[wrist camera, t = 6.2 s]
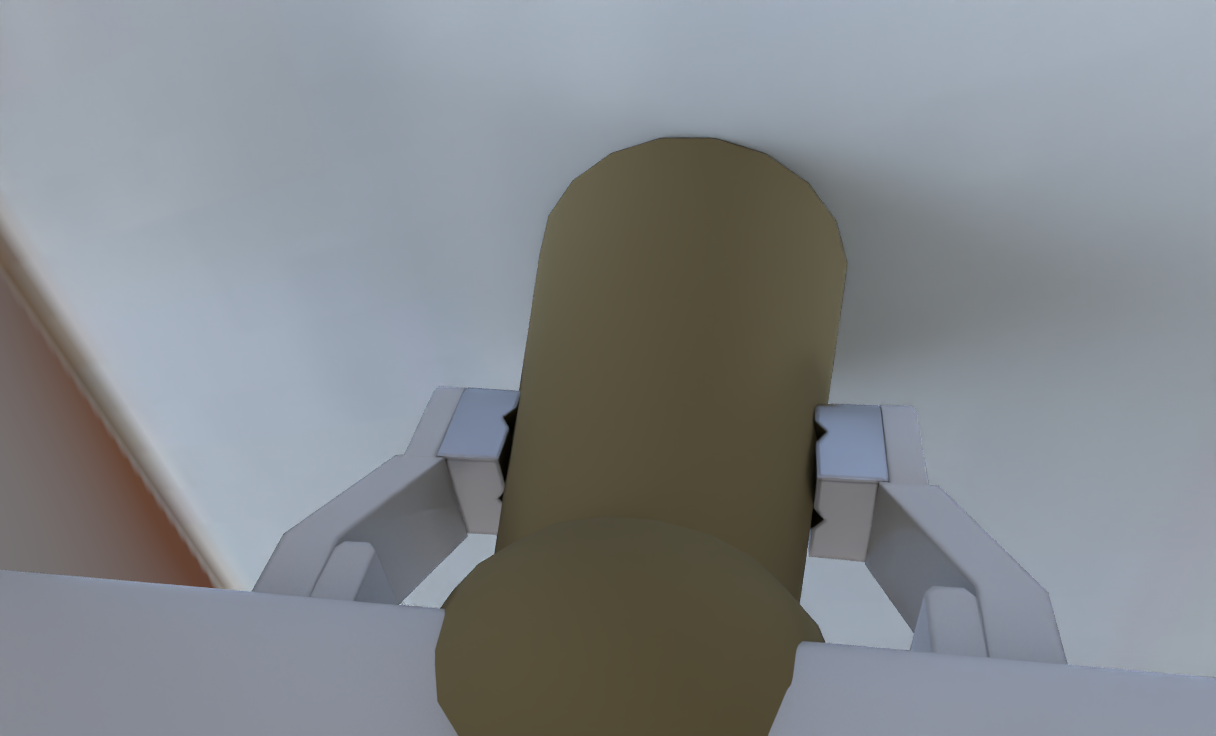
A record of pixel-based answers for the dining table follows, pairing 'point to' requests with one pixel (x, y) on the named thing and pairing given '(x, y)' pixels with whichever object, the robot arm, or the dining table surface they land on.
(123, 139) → the dining table surface
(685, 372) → the olive tapered cylinder
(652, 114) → the dining table surface
